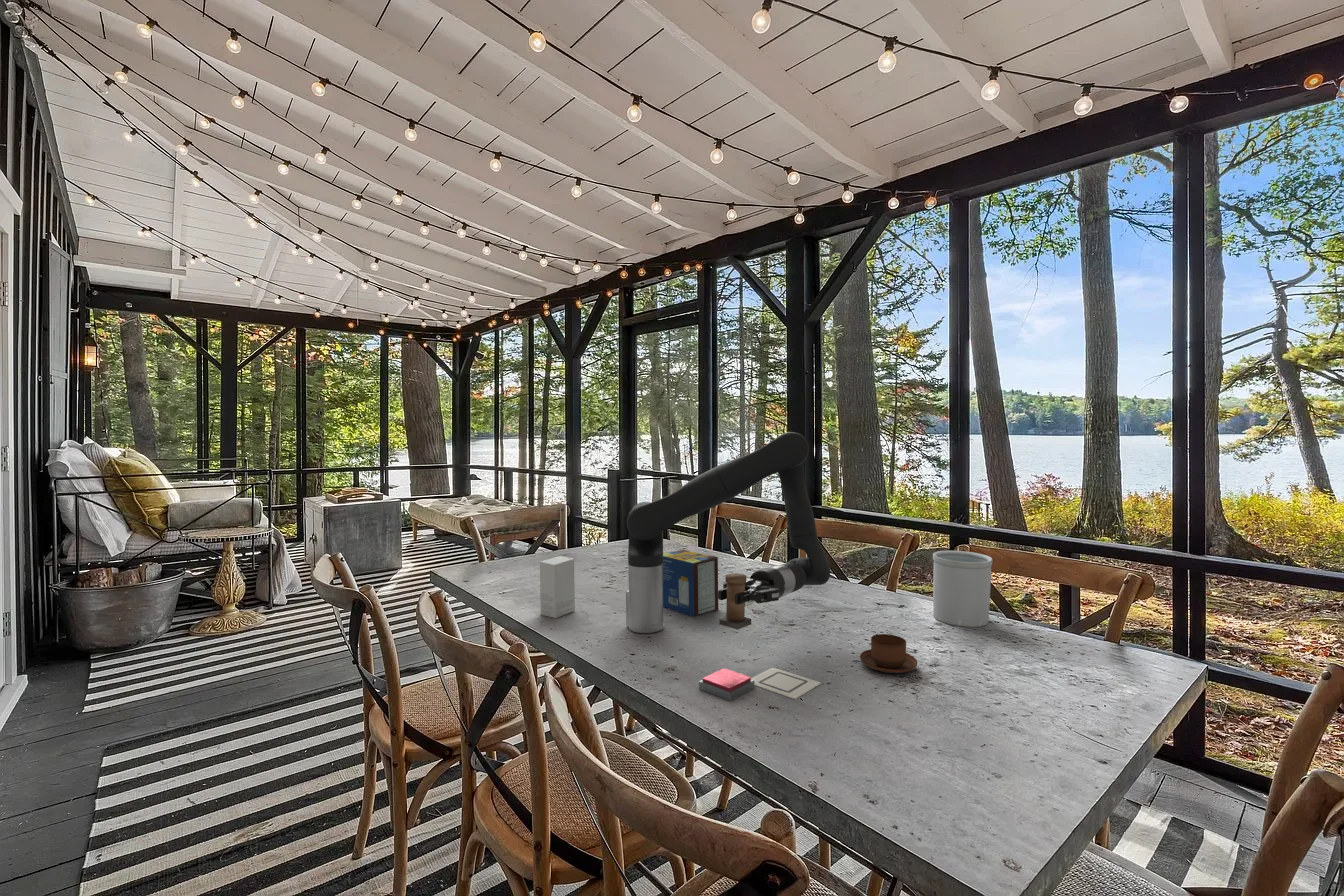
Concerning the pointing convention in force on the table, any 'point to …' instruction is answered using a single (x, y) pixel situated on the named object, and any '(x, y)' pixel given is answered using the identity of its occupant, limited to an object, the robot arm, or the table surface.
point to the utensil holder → (961, 588)
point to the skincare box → (557, 586)
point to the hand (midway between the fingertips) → (728, 597)
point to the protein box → (690, 582)
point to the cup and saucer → (888, 655)
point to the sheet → (784, 683)
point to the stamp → (734, 611)
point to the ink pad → (726, 684)
